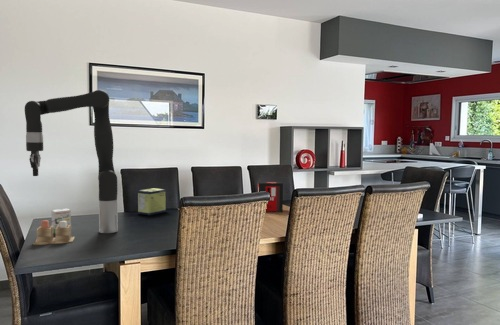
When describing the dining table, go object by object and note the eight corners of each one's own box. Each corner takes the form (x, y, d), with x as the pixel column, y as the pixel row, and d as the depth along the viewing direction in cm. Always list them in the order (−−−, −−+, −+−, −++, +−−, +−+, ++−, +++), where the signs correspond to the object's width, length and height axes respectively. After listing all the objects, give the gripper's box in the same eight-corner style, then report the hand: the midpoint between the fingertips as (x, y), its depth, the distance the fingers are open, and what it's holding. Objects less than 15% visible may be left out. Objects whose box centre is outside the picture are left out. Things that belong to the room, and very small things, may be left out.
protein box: (166, 211, 266) (166, 189, 265) (148, 215, 253) (148, 191, 252) (155, 210, 271) (154, 187, 270) (137, 213, 258) (137, 190, 257)
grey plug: (67, 237, 194) (67, 220, 193) (66, 239, 191) (66, 221, 190) (60, 237, 193) (60, 220, 192) (59, 239, 190) (58, 222, 189)
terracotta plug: (49, 237, 191) (49, 220, 191) (48, 238, 188) (47, 221, 188) (42, 237, 190) (41, 220, 190) (40, 239, 187) (40, 221, 187)
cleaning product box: (258, 212, 267) (258, 183, 266) (257, 209, 276) (257, 181, 275) (282, 212, 268) (283, 183, 267) (280, 209, 277) (281, 181, 276)
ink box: (54, 233, 205) (53, 211, 204) (51, 231, 209) (51, 210, 208) (71, 231, 211) (70, 209, 210) (68, 229, 214) (68, 208, 214)
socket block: (74, 237, 197) (74, 224, 197) (72, 242, 189) (71, 228, 188) (37, 240, 193) (36, 226, 192) (32, 245, 184) (32, 230, 183)
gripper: (40, 141, 191) (41, 177, 192) (45, 141, 203) (46, 174, 204) (22, 141, 188) (23, 177, 190) (29, 141, 201) (30, 174, 202)
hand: (35, 175), depth 197 cm, fingers closed
